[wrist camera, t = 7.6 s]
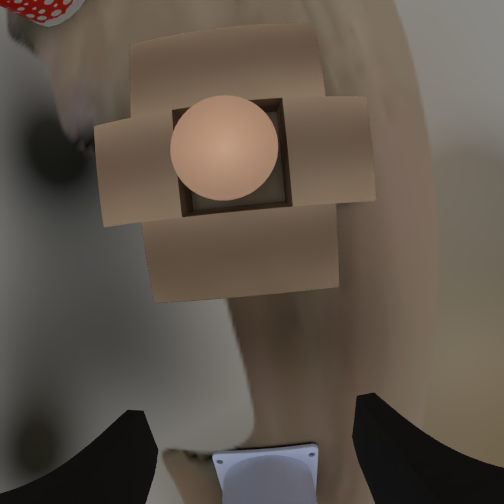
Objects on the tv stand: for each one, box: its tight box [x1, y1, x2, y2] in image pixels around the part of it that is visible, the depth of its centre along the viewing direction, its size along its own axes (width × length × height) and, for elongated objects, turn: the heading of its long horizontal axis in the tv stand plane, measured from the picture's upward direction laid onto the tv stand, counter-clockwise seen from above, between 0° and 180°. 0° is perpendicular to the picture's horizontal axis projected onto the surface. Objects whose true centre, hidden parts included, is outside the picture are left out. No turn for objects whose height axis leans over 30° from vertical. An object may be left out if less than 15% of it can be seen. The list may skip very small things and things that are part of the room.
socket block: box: [94, 23, 376, 303], centre depth 15 cm, size 13×13×3 cm
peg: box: [170, 95, 278, 200], centre depth 13 cm, size 4×4×7 cm
